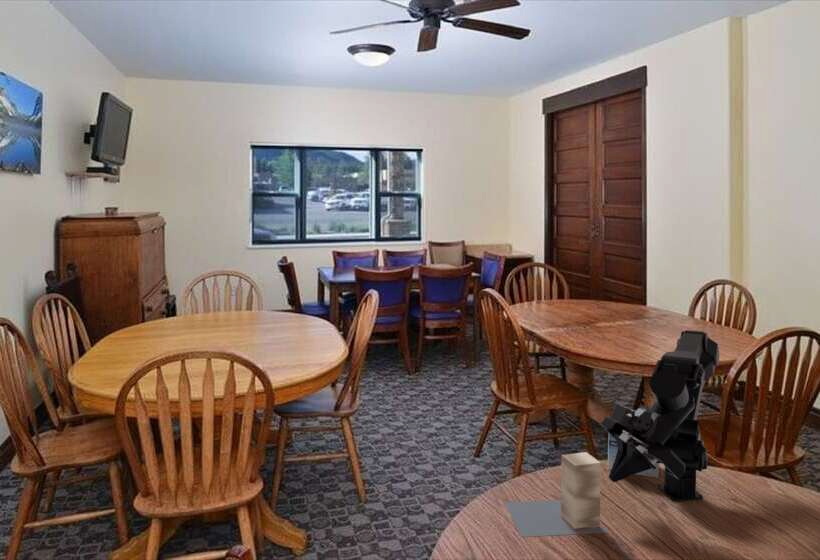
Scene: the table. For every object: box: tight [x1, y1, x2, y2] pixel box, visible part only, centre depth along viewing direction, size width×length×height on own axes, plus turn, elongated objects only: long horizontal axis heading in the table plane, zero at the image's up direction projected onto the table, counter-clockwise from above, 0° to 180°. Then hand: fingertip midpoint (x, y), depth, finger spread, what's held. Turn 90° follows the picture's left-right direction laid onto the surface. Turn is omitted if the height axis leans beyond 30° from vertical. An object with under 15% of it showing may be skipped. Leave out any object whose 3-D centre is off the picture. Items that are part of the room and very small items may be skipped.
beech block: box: [560, 451, 602, 531], centre depth 109 cm, size 5×5×12 cm
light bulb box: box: [607, 433, 660, 478], centre depth 132 cm, size 11×7×11 cm, turn 70°
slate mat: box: [504, 499, 608, 538], centre depth 112 cm, size 13×16×1 cm
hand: (611, 480), depth 110 cm, fingers closed
